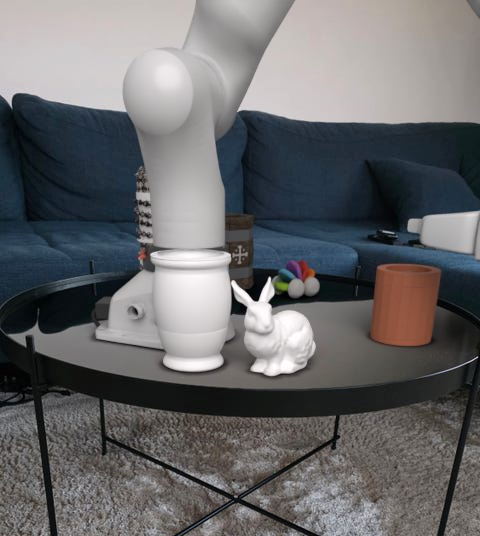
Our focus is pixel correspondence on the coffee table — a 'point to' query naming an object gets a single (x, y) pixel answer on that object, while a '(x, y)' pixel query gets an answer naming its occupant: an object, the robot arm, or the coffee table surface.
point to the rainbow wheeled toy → (296, 280)
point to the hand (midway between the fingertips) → (429, 223)
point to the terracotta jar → (404, 304)
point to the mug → (240, 248)
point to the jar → (191, 306)
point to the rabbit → (275, 334)
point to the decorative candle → (143, 211)
